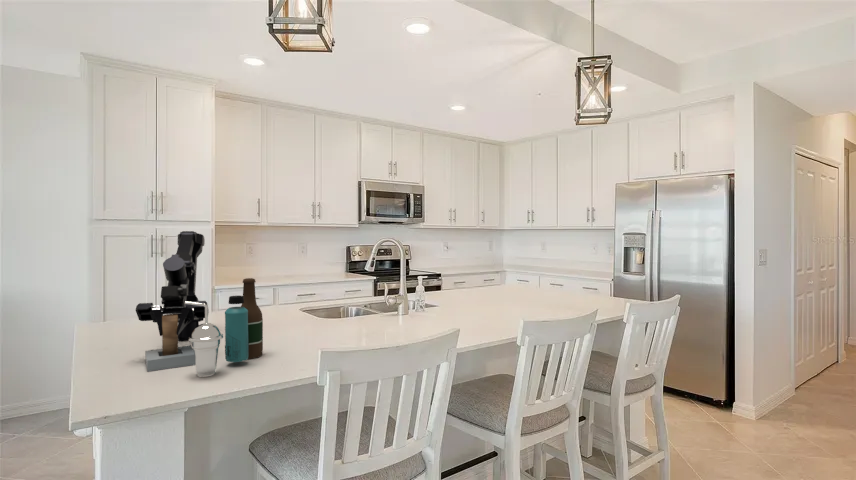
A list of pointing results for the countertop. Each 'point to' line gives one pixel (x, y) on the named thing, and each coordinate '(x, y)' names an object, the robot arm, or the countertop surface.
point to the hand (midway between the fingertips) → (169, 334)
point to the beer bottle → (253, 319)
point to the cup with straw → (205, 345)
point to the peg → (169, 334)
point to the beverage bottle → (236, 331)
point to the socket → (169, 359)
